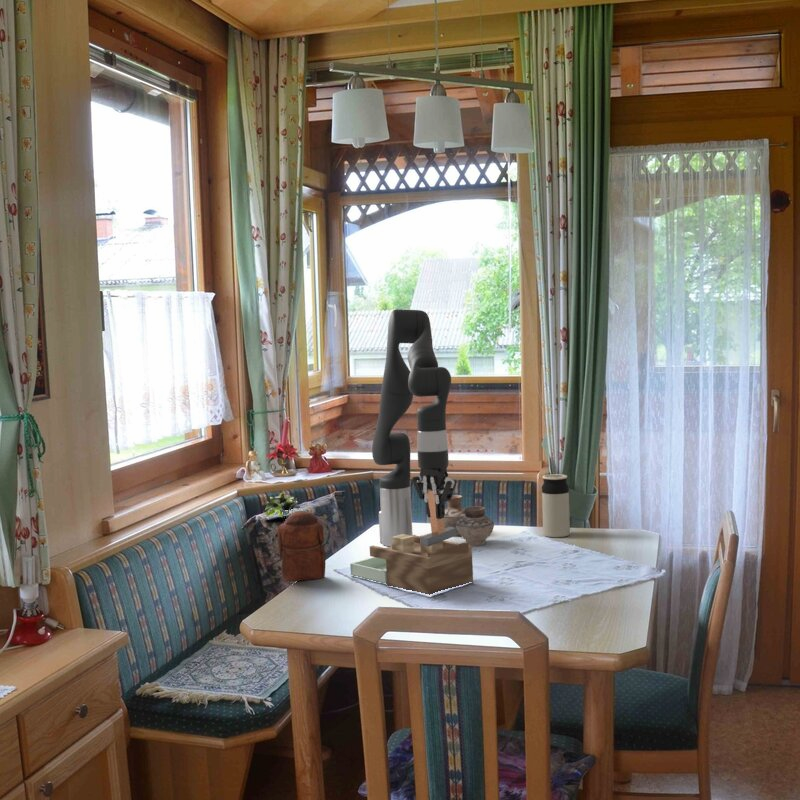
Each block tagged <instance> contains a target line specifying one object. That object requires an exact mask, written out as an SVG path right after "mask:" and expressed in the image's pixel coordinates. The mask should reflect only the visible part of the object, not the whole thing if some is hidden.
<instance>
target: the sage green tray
mask: <svg viewBox="0 0 800 800" xmlns="http://www.w3.org/2000/svg"><path fill="white" fill-rule="evenodd" d="M351 575H353V576H358V577H362V578H365V579H369V580H373V581H376V582H381V583H386V584H387V570H386V559H381V558H377V557H372V556H371V557H369V558H364V559H362V560H358V561H354V562H350V576H351Z"/></svg>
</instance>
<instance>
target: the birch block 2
mask: <svg viewBox="0 0 800 800" xmlns="http://www.w3.org/2000/svg"><path fill="white" fill-rule="evenodd" d="M431 533H432V532H429V533H425V534H422V535H419V536H420V537H423V536H425V535H428V534H431ZM420 546H421V551H422V552H427V553H429V552H432V551H436V550H440V549H443V541H441V542H439V543H436V544H433V545H431V546H428V547H427V546H422V545H421V539H420Z"/></svg>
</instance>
